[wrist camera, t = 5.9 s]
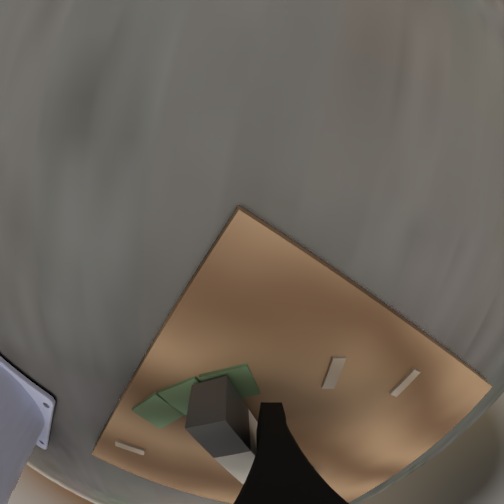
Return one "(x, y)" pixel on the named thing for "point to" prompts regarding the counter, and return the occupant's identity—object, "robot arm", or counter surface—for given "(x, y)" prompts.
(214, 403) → the peg
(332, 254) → the counter surface
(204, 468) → the board
